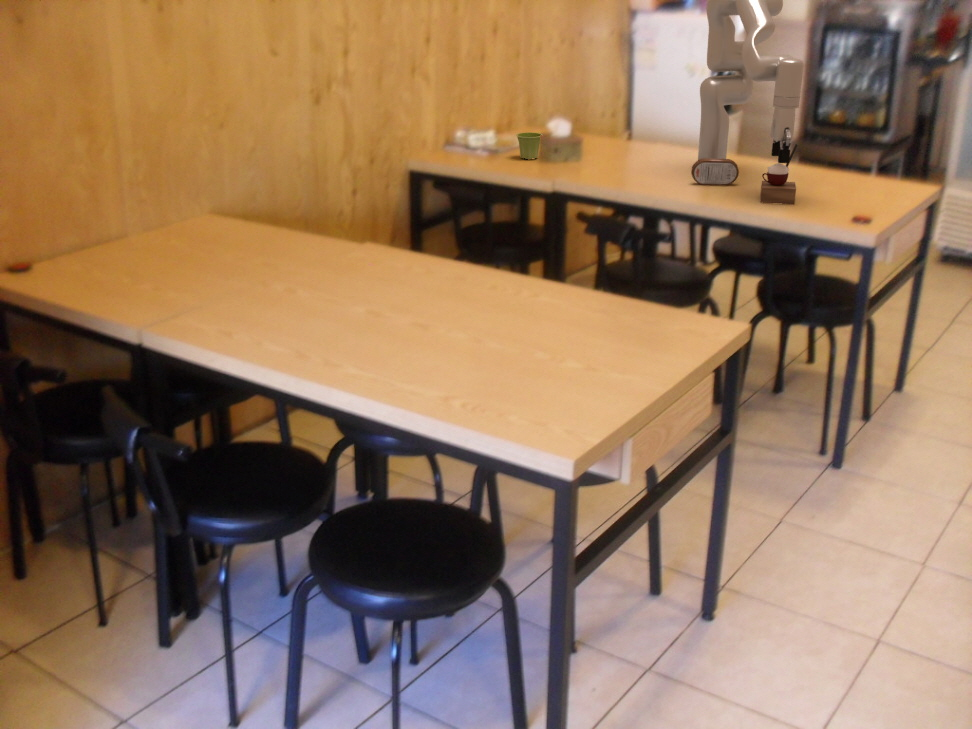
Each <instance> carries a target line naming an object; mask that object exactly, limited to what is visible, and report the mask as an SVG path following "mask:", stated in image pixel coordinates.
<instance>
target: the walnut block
mask: <svg viewBox="0 0 972 729" xmlns="http://www.w3.org/2000/svg"><path fill="white" fill-rule="evenodd" d="M760 184H761V185H760V199H759V202H763V203H762V204H773V203H782V204H781V205H795V203H796V202H795V201H796V193H797V192H796V191H797V186H796V181H786V183H785V184H783V185H771V184H770V183H768V182H766V181H765V180H761V183H760Z"/></svg>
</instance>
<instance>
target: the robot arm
mask: <svg viewBox="0 0 972 729" xmlns="http://www.w3.org/2000/svg"><path fill="white" fill-rule="evenodd" d="M783 6H784V0H707V1H706V16H707V23H708V33H707V34H708V35H707V36H708V37H707V48H706V49H707V51H706V65H707V69H709V70H710V71H711V72H720V73H721V72H724V73H725V72H735V74H733V75H732V74H731V75H713V76H708V77H707V78H705V79H703V81H702V82H701V83H700V86H699V98H700V123H699V124H700V126H699V139H698V140H699V141H698V155H697V161H698V160H700V159H703V158H710V159H727V153H728V152H727V151H728V141H729V129H730V117H729V114H728V112H727V111H726V108H725V106H728V105H729V106H730V105H731V106H733V105H744V104H746V103H749V101H750V99H751V98H752V96H753V90H754V89H753V88H754V82H775V84H774V90H773V100H772V107H773V108H774V109H773V113H772V114H773V115H772V119H771V120H772V122H771V126H770V127H771V129H770V133H769V134H770V135H769V136H770V138H772V144H771V145H772V146H771V157H778V158H777V163H780V164H787V163H789V158H790V155H791V149H792V148H791V144H792V143H791V142H792V141H793V137H794V132H795V121H796V109H798V108H800V102H801V100H800V99H801V92H802V85H803V84H802V83H803V75H804V66H805V64H804V61H803V60H802V59H801V58H796V57H795V58H794V57H793V56H791V55H788V54H766V55H760V54H759V52H758V51H757V47H756V46H757V45H759V44H762V43H764V42H765V41H766V40H768V39H769V38H771V37H772V35H773V34H774V32H775V30H776V25H775V21H774V20H773V17H776V16H778V15H779V14H781V11H782V10H783ZM731 16H739V18H740V21H741V23H742V26H743V29H744V32H745V33H746V35H747V36H746V38H745V39H744V41H743V40H740V41H739V40H737V41H735V38H736V37H735V36H736V26H735V23H734V21H733V20H732V18H731ZM789 164H790V163H789Z"/></svg>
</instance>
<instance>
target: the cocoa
mask: <svg viewBox="0 0 972 729" xmlns="http://www.w3.org/2000/svg"><path fill="white" fill-rule="evenodd" d="M797 148H798V143H795V145H794V147H793V149H792V150H791V152H790V158H789V163H785V164H784V163H778V162H777V163H774V164H772V165H770V166H768V167H767V171H766V172H764V173H762V176H761V177H762V179H763V181H766V182H768V183H770V184H771V185H783V184H785V183H786V182H788V178H789V175H790V174H789V173H790V169H789V165H790V163H791V161H792V159H793V157H794V154H795V153H796V150H797ZM764 176H766V177H767V179H766V178H765V177H764Z"/></svg>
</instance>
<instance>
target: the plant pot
mask: <svg viewBox="0 0 972 729" xmlns="http://www.w3.org/2000/svg"><path fill="white" fill-rule="evenodd" d="M540 135H542V136H543V134H542V133H540V132H533V131H532V132H531V131H530V132H520V133H517V134H516V137H517V140H518V145H519V147H518V148H519V155H520V159H521V158H525V159H524V160H526V159H532V158H537V157H539V149H540V144H541V140H540ZM537 159H538V158H537Z"/></svg>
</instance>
